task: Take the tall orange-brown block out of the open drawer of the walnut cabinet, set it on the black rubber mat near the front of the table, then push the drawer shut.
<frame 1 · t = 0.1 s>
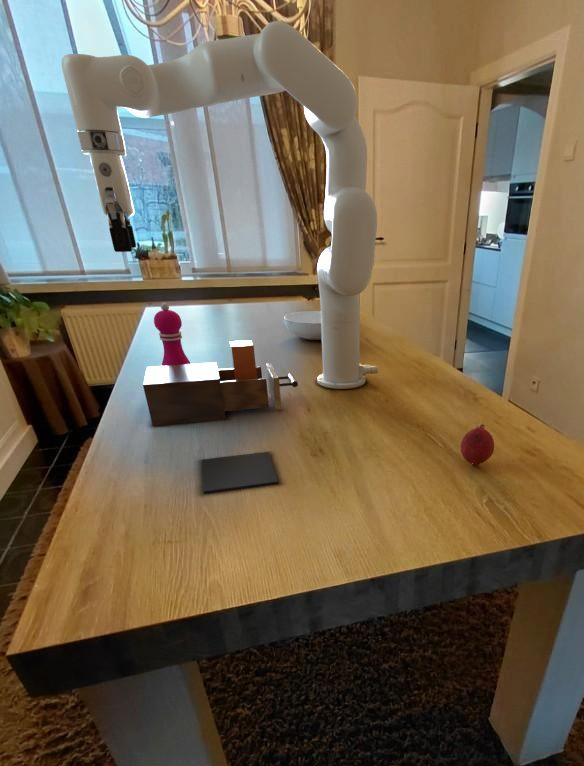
hand: (126, 249, 101), 31 cm above the table, tool pointing down, fingers open, 9 cm apart
mat: (238, 472, 86), on the table
onion: (474, 466, 89), on the table
drawer: (256, 387, 111), point 4 cm above the table, slide at 11.0 cm, touching tall orange-brown block
cabinet: (189, 412, 109), on the table
serving bowl: (316, 338, 170), on the table
tall orange-brown block: (248, 397, 112), point 2 cm above the table, touching drawer
pepper mill: (181, 389, 123), on the table
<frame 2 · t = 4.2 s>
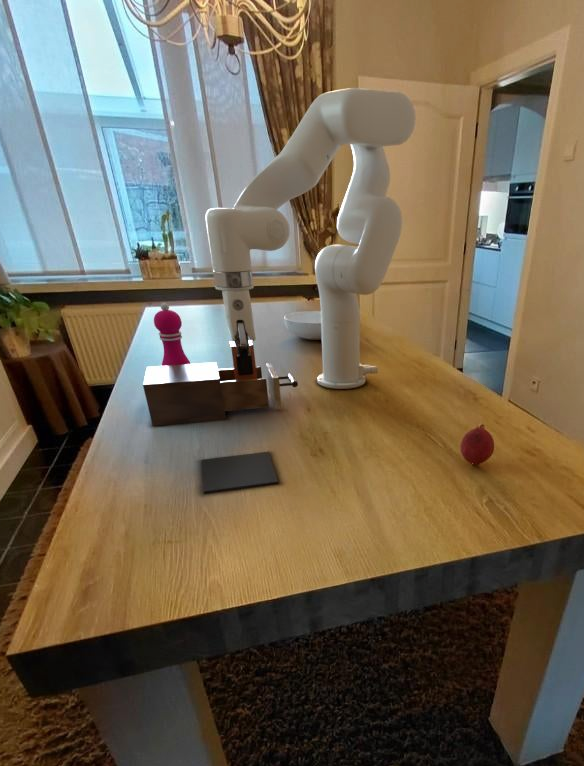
hand: (244, 370, 108), 8 cm above the table, tool pointing down, fingers closed on tall orange-brown block, 4 cm apart
tall orange-brown block: (248, 397, 112), point 2 cm above the table, touching drawer, gripper
everything else where it was.
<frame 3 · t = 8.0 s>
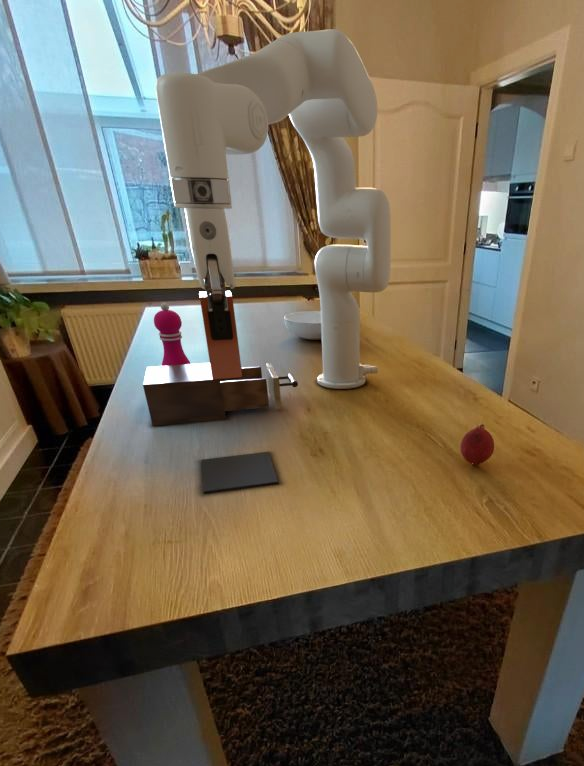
hand: (221, 334, 76), 22 cm above the table, tool pointing down, fingers closed on tall orange-brown block, 4 cm apart
drawer: (256, 387, 111), point 4 cm above the table, slide at 11.0 cm
tall orange-brown block: (226, 374, 80), point 16 cm above the table, touching gripper
everything else where it was.
when the fingers open (7 cm above the table, at t = 12.1 s): tall orange-brown block stays where it is, resting on mat.
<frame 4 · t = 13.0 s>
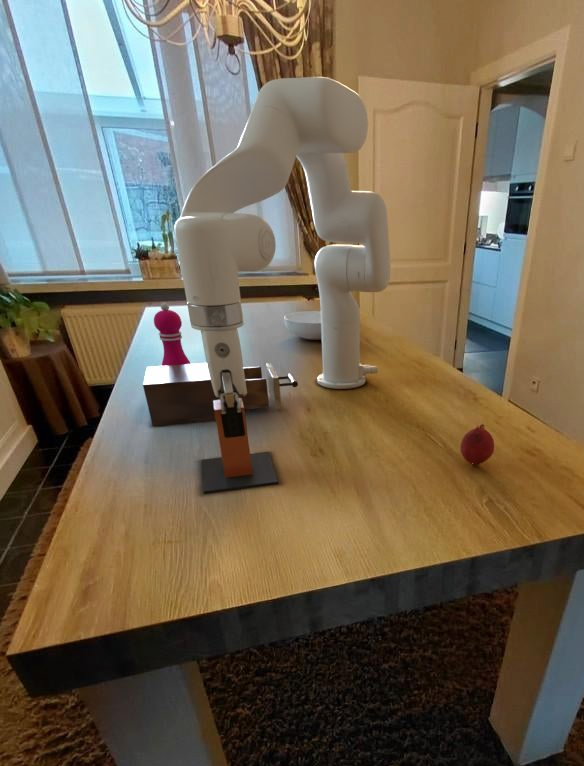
hand: (232, 424, 81), 9 cm above the table, tool pointing down, fingers open, 9 cm apart
tall orange-brown block: (237, 470, 85), resting on mat
everything else where it was.
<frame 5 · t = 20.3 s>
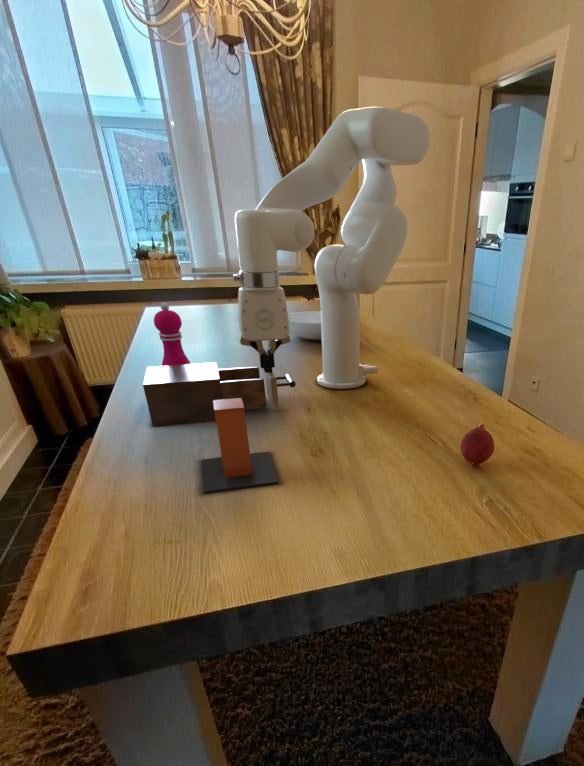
hand: (267, 370, 110), 8 cm above the table, tool pointing down, fingers closed
drawer: (253, 387, 111), point 4 cm above the table, slide at 10.5 cm, touching gripper
everything else where it was.
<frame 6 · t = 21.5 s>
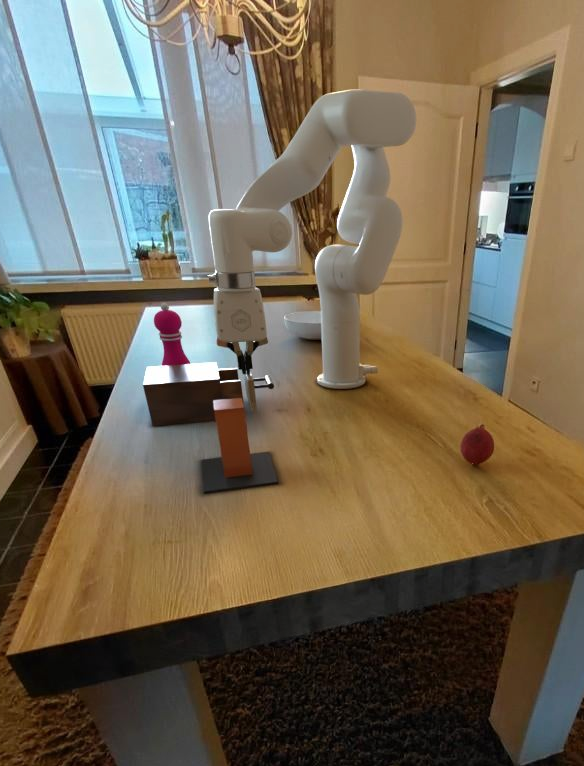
hand: (245, 372, 108), 8 cm above the table, tool pointing down, fingers closed
drawer: (231, 389, 110), point 4 cm above the table, slide at 5.7 cm, touching gripper
everything else where it was.
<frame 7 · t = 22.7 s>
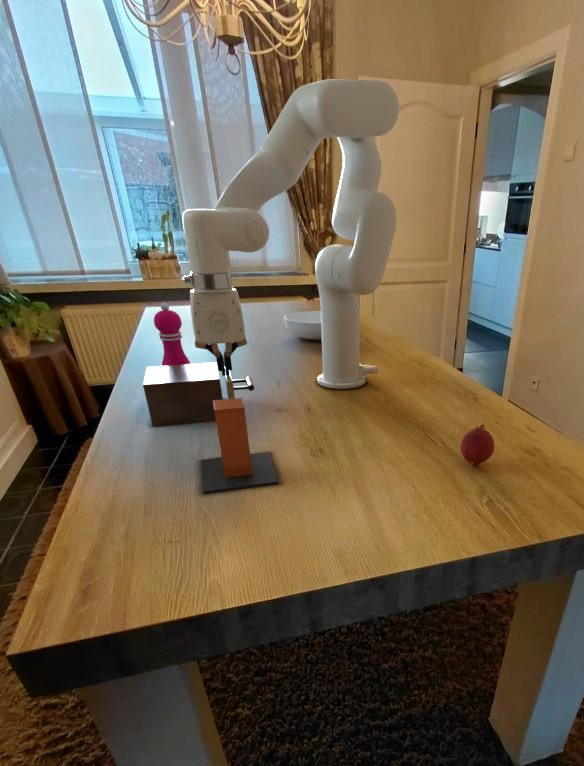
hand: (225, 373, 107), 8 cm above the table, tool pointing down, fingers closed
drawer: (211, 390, 108), point 4 cm above the table, slide at 1.3 cm
everything else where it was.
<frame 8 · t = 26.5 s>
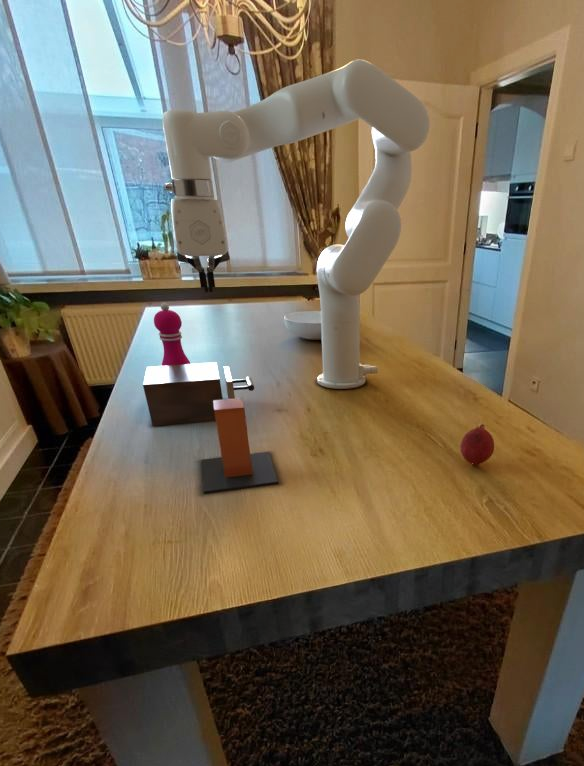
hand: (208, 291, 107), 23 cm above the table, tool pointing down, fingers closed
nothing on the table moved.
at the end: tall orange-brown block inside the target area on the mat (0.1 cm from its centre), point 0.4 cm above the mat's base; tall orange-brown block tilted 0°; drawer slide at 1.3 cm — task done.
